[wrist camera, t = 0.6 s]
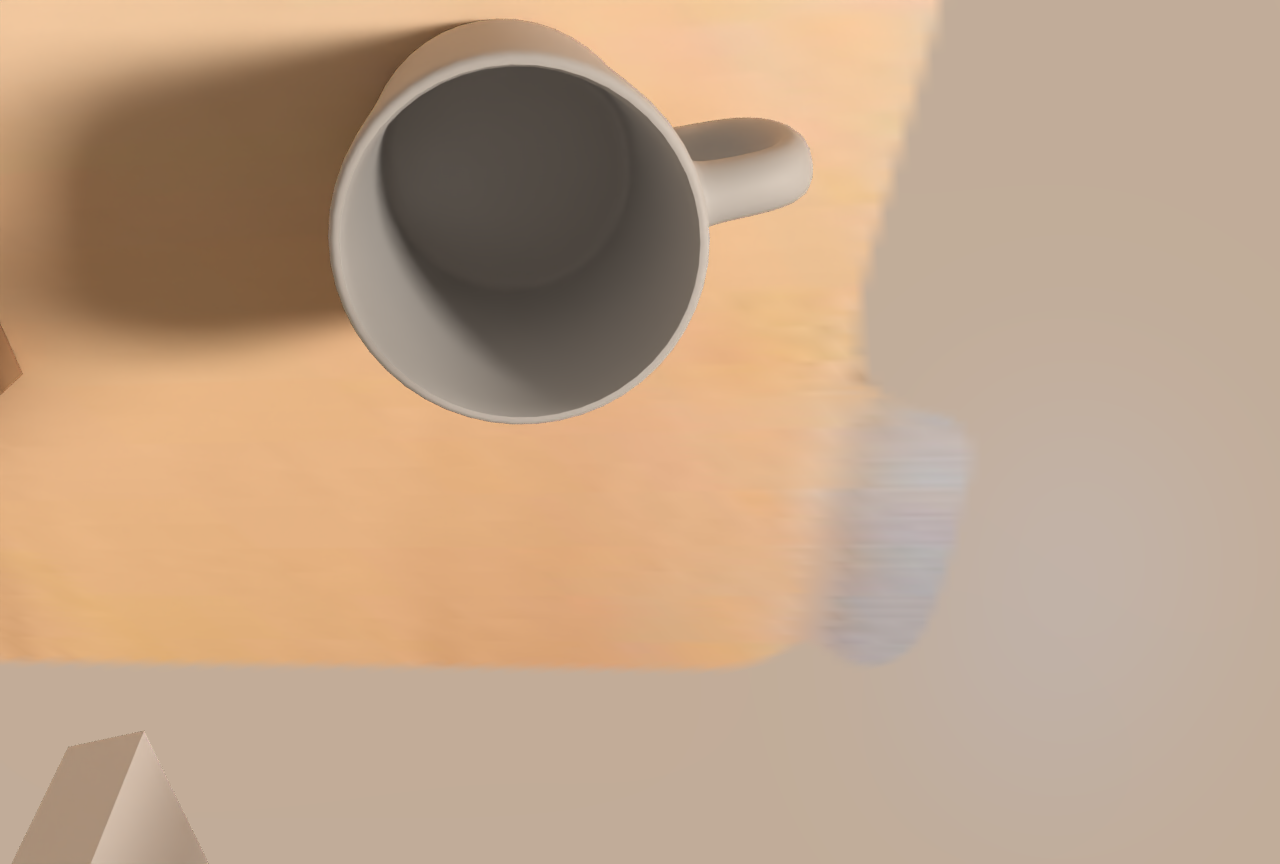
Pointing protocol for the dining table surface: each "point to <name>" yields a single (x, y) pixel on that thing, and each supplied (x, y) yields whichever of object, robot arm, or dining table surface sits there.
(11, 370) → the walnut tray
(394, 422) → the dining table surface
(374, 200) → the mug
